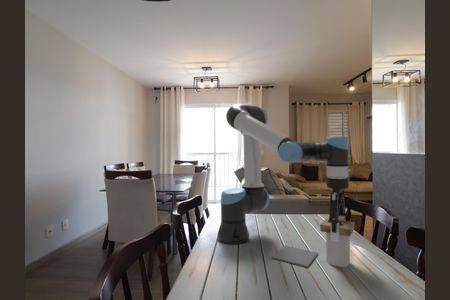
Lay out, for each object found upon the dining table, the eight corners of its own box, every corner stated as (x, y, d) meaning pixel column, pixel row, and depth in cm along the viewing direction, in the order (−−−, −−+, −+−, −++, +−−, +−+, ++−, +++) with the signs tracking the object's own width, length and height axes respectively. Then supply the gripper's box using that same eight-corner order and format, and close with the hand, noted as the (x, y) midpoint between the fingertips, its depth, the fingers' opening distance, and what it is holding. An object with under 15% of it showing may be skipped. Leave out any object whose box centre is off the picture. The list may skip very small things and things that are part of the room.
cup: (352, 267, 91) (352, 234, 91) (328, 265, 92) (328, 232, 92) (346, 258, 99) (346, 227, 99) (324, 256, 100) (324, 226, 100)
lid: (320, 231, 94) (320, 221, 94) (326, 224, 102) (326, 215, 102) (350, 236, 89) (350, 225, 88) (354, 228, 97) (354, 219, 97)
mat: (271, 258, 99) (271, 256, 99) (284, 246, 110) (284, 245, 110) (307, 267, 91) (307, 266, 91) (317, 254, 103) (317, 252, 103)
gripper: (342, 181, 84) (343, 248, 84) (353, 175, 103) (353, 230, 103) (319, 180, 88) (319, 243, 88) (333, 174, 107) (333, 227, 107)
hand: (337, 236), depth 95 cm, fingers closed on lid, 10 cm apart
